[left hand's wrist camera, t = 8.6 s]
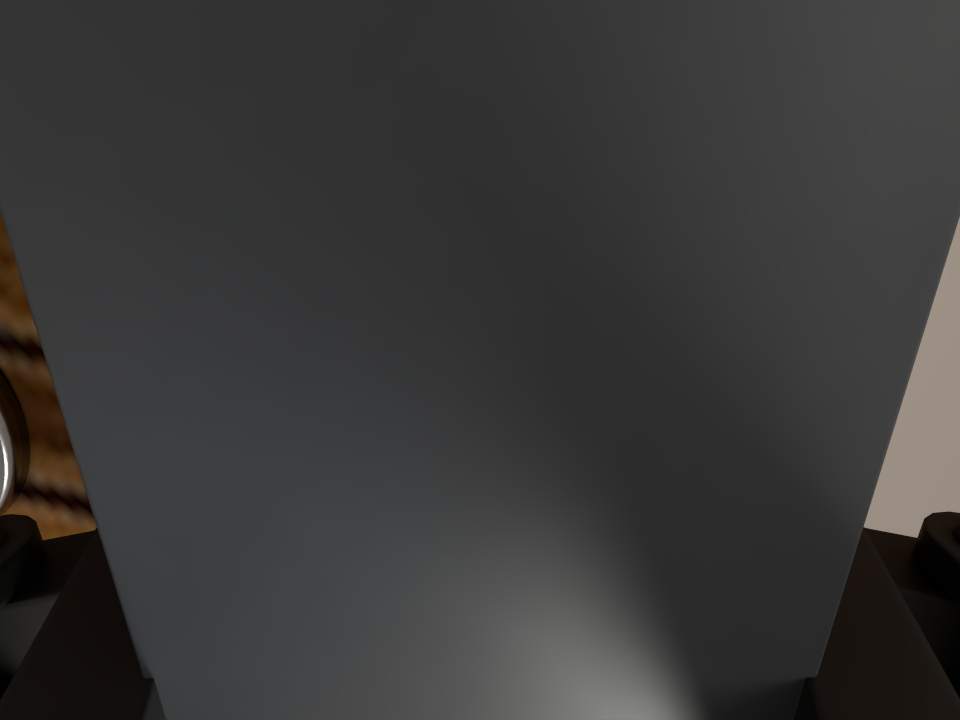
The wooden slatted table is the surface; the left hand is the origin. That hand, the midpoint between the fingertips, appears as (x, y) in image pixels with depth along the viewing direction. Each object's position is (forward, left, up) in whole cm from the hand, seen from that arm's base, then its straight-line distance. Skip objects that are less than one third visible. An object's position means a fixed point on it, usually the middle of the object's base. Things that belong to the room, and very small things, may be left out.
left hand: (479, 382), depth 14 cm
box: (-3, +11, -2) cm, 11 cm away
